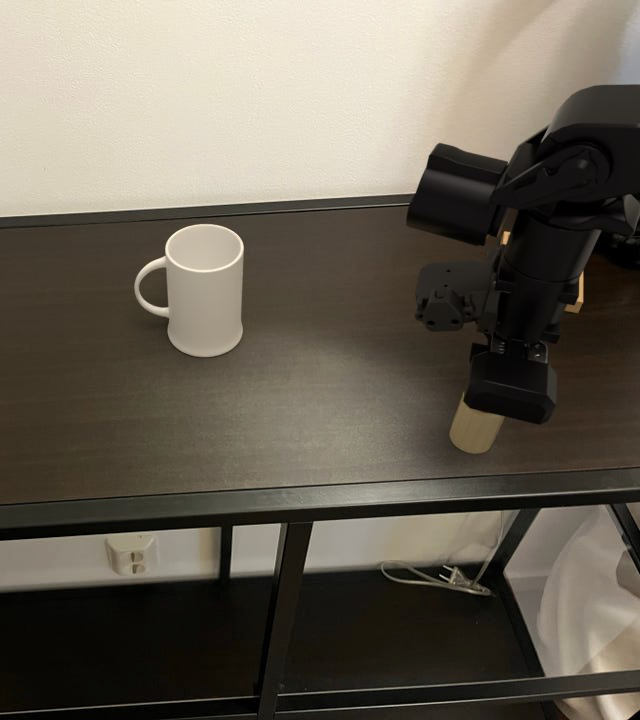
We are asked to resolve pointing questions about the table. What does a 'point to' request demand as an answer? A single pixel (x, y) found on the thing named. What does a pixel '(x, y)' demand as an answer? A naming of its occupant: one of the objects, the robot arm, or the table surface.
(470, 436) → the pencil cup
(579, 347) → the table surface
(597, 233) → the robot arm
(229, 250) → the mug
